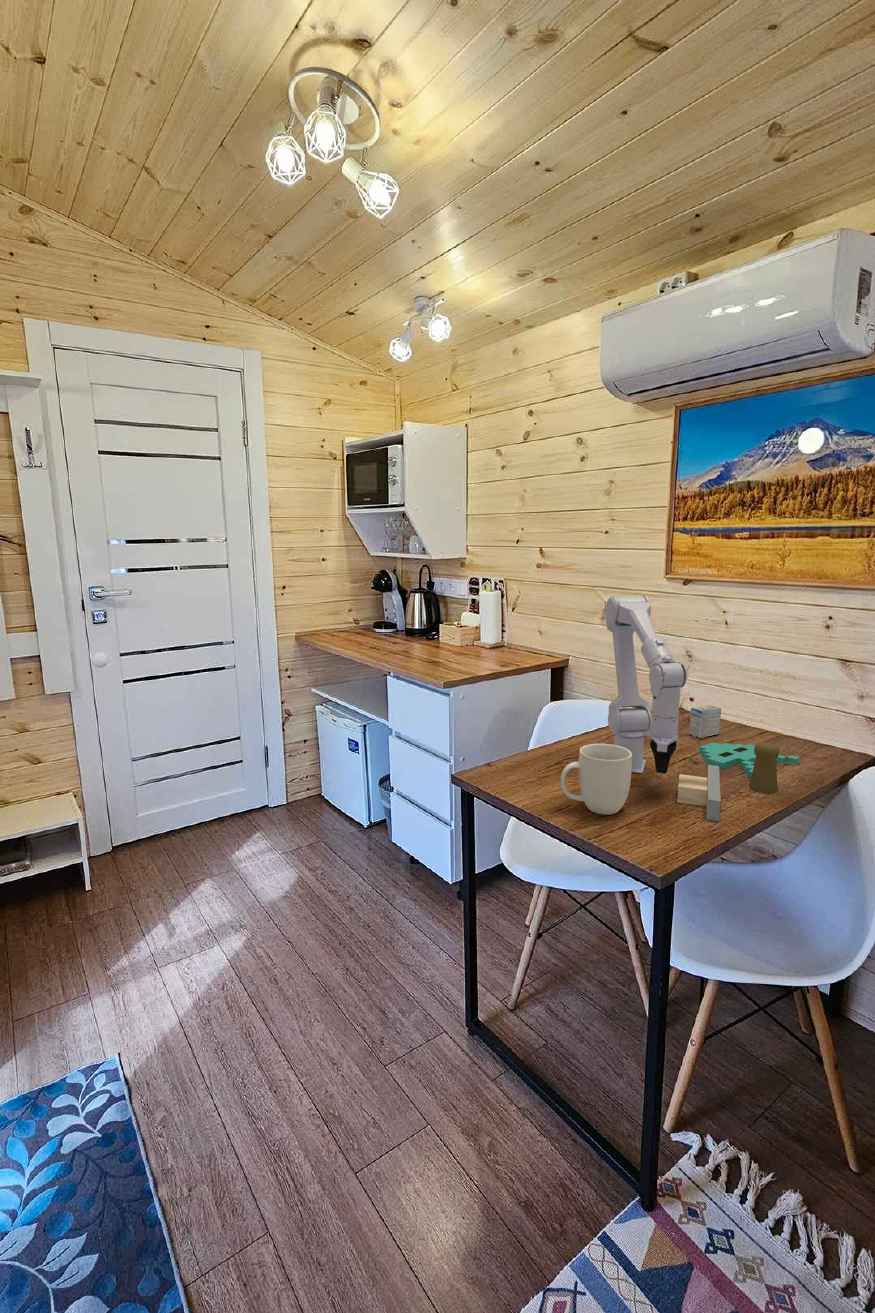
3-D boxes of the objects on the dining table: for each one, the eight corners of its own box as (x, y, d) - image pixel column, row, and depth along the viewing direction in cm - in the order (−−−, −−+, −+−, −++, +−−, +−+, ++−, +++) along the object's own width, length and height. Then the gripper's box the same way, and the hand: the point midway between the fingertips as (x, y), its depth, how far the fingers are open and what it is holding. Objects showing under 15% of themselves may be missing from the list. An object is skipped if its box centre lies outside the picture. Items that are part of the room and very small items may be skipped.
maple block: (678, 790, 146) (679, 774, 145) (706, 794, 143) (707, 777, 143) (677, 803, 138) (678, 786, 138) (706, 807, 136) (707, 790, 135)
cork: (744, 783, 149) (748, 739, 147) (771, 784, 148) (775, 739, 146) (754, 793, 143) (758, 747, 141) (782, 794, 142) (786, 748, 140)
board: (706, 782, 149) (708, 764, 149) (717, 784, 149) (719, 766, 148) (706, 819, 130) (707, 799, 129) (719, 821, 129) (720, 801, 128)
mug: (565, 819, 130) (566, 760, 128) (555, 798, 141) (557, 743, 139) (636, 819, 130) (639, 760, 128) (621, 798, 141) (623, 743, 139)
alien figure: (799, 765, 162) (727, 745, 178) (799, 757, 161) (728, 738, 178) (756, 782, 151) (684, 759, 167) (756, 773, 150) (684, 751, 167)
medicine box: (707, 731, 190) (709, 704, 188) (719, 735, 186) (721, 707, 184) (688, 735, 186) (690, 707, 185) (700, 739, 182) (702, 711, 181)
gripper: (648, 705, 148) (645, 759, 151) (644, 722, 135) (640, 781, 137) (680, 708, 145) (676, 763, 148) (678, 725, 132) (674, 785, 135)
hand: (661, 772), depth 143 cm, fingers closed
